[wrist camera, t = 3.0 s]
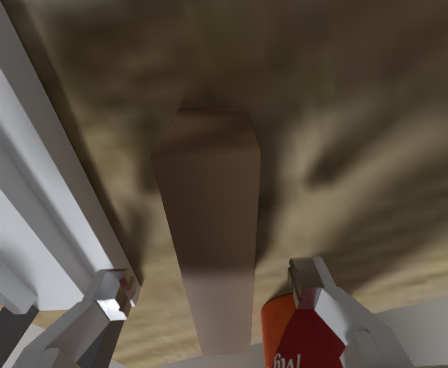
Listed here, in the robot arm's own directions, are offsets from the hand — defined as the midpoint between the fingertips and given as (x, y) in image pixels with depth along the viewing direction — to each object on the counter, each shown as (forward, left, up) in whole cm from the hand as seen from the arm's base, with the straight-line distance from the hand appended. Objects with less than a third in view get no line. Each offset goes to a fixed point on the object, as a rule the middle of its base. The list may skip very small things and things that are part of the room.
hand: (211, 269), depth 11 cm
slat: (-1, 0, -4) cm, 4 cm away
